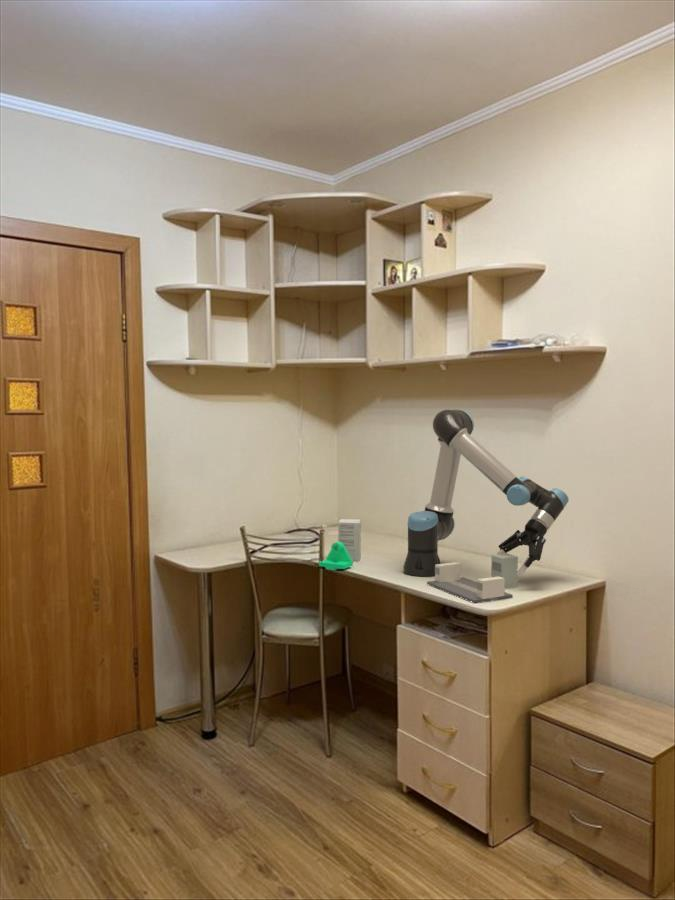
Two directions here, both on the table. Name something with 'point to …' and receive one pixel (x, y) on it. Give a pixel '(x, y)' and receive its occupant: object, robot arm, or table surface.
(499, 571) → the block
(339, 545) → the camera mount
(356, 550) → the supplement box
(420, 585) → the table surface
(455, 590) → the rail plate
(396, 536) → the table surface
